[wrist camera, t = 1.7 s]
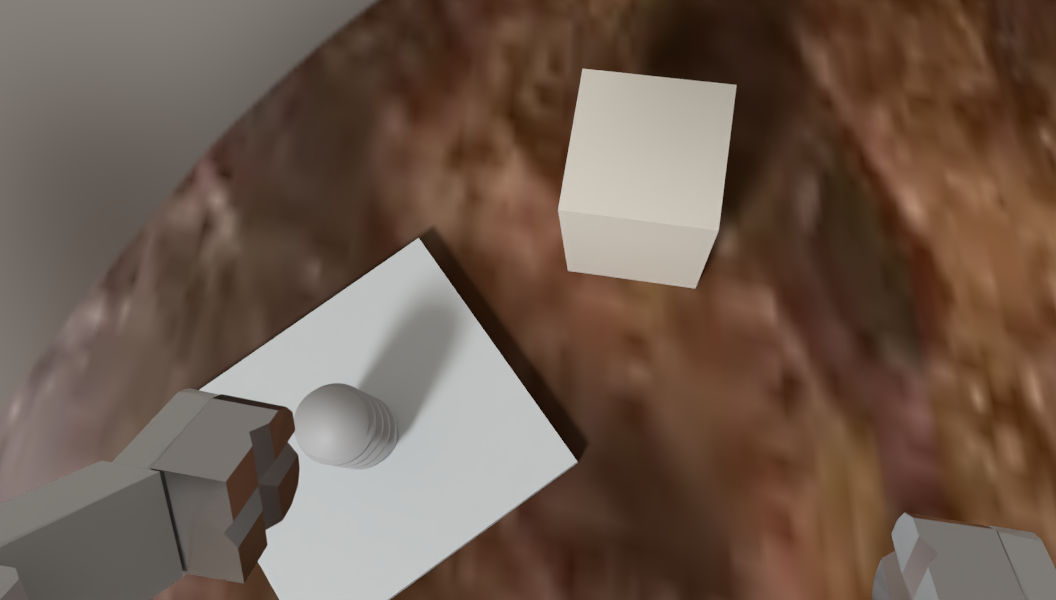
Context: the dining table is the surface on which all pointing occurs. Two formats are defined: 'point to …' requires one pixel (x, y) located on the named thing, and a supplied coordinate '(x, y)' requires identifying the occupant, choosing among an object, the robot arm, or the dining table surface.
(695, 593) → the dining table surface
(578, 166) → the cream rectangular block
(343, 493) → the stud board
